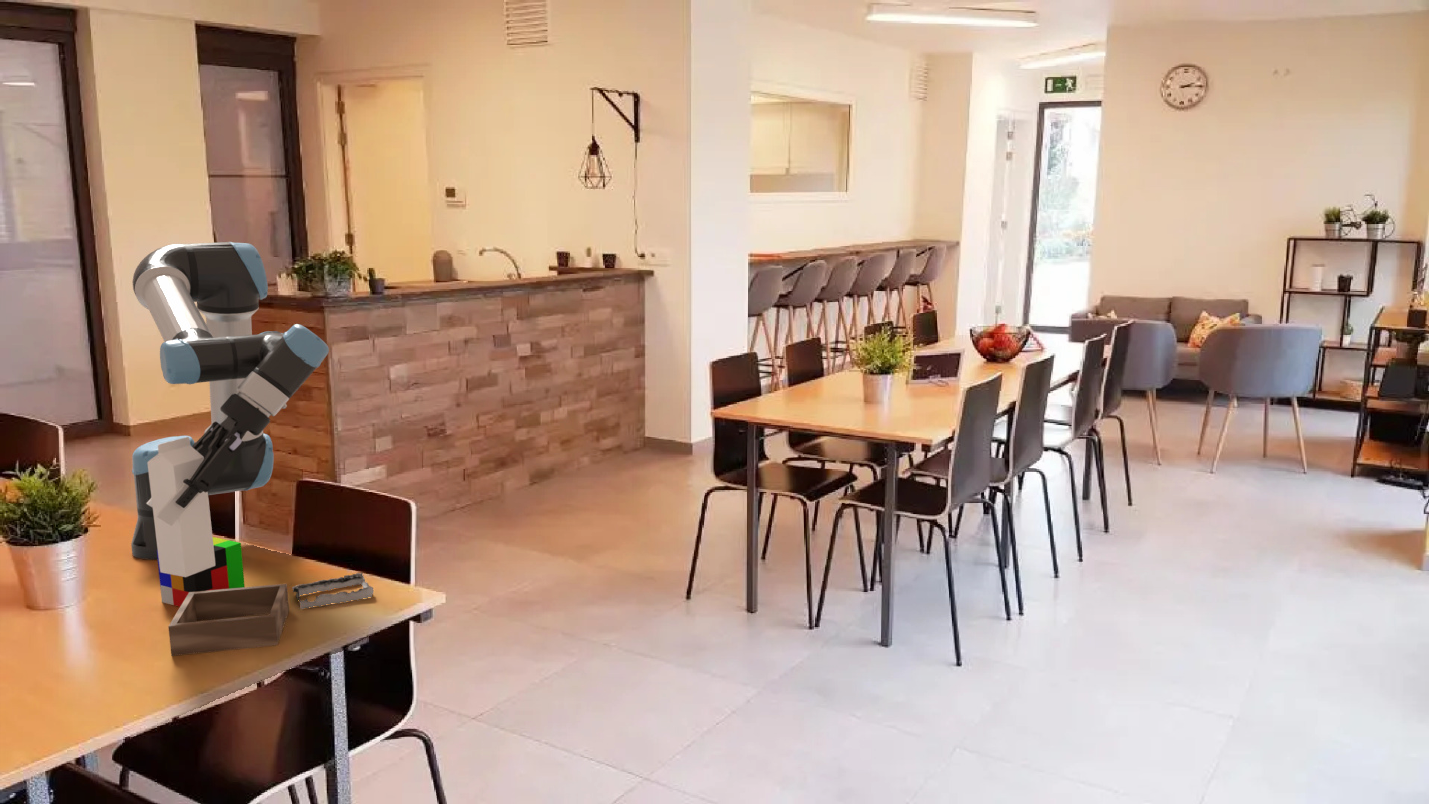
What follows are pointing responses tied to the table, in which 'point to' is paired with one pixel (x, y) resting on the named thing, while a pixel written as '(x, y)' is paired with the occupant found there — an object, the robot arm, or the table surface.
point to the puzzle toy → (206, 574)
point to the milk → (191, 533)
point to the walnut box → (231, 631)
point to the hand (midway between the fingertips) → (158, 514)
